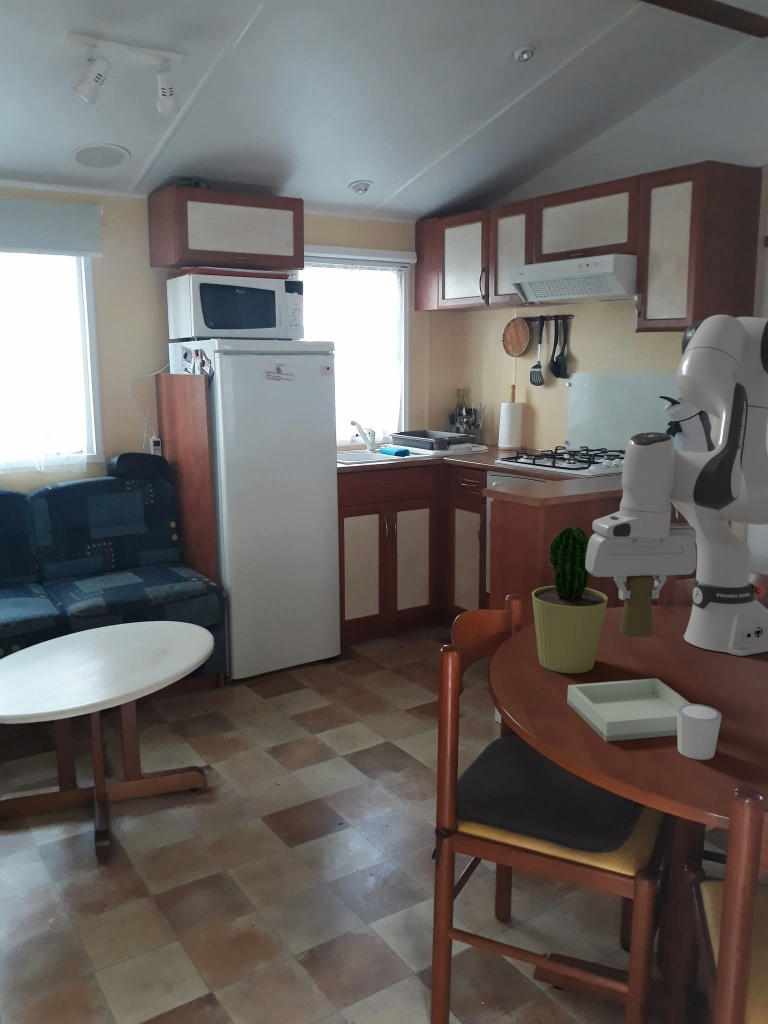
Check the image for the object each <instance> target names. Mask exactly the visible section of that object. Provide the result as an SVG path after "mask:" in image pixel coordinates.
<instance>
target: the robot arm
mask: <svg viewBox="0 0 768 1024" xmlns="http://www.w3.org/2000/svg"><path fill="white" fill-rule="evenodd" d="M681 355H682V357H681V359H680V362H679V364H678V367H677V370H676V375H675V385H676V388H677V391H678V393H679V394H680V396H681V397H682V399H683V400H685V401H686V402H687V403H688V404H689V405H690V406H692V407H694V408H695V409H696V410H700V411H701V412H702V411H703V412H705V413H708V414H710V415H712V421H711V427H710V428H711V429H710V439H711V440H710V441H711V442H712V444H713V445H714V447H715V449H714V450H711V451H707V452H706V451H705V452H702V451H701V452H700V451H692V450H691V451H687V450H680V449H675V446H674V439H673V438H674V437H672V436H671V435H670V434H666V433H663V432H658V431H657V432H655V431H654V432H653V431H652V432H651V431H650V432H640V433H637V434H633V436H631V437H629V439H628V442H627V445H626V449H625V452H624V453H625V454H624V457H623V459H624V460H623V465H622V473H621V487H622V497H621V500H620V503H619V511H615V512H613V513H611V514H608V515H605V516H602V517H599V518H597V519H594V520H593V521H592V528H591V529H592V531H594V533H593V534H592V535H591V536H590V538H589V542H588V547H587V553H586V562H585V567H586V570H587V571H588V572H589V574H590V575H591V576H593V577H595V578H603V577H604V578H606V577H607V578H611V577H613V581H614V582H615V585H616V586H617V588H618V598H619V600H621V601H625V600H629V599H630V595H631V591H630V590H627V589H626V588H625V582H626V577H627V576H652V577H653V579H655V580H654V583H655V585H654V589H653V591H652V592H651V600H655V599H656V600H657V599H659V597H660V590H661V589H662V587H663V586H664V585H665V583H666V582H667V576H676V575H679V576H680V575H692V574H693V573H694V572H695V570H696V573H695V575H696V576H695V577H694V578H693V585H692V607H691V613H690V618H689V621H688V624H687V627H686V630H685V633H684V634H683V638H684V640H685V641H686V643H688V644H690V645H693V646H695V647H698V648H700V649H705V650H709V651H714V652H721V653H727V654H730V655H734V656H740V657H744V656H749V655H755V654H761V653H765V652H768V608H766V607H765V606H764V605H763V604H762V603H761V602H759V601H758V600H757V599H756V596H755V594H757V595H758V596H759V597H760V596H761V597H763V596H764V595H765V594H766V591H767V590H766V588H765V587H763V586H761V585H759V584H756V585H754V584H753V583H752V582H750V577H751V566H752V556H753V553H752V551H751V549H750V546H749V545H748V544H747V542H746V541H745V540H743V539H742V538H740V537H739V536H737V535H736V534H735V533H734V531H733V530H732V529H731V527H730V525H729V524H730V523H729V522H733V523H741V524H747V525H754V526H755V525H756V526H757V525H758V526H759V525H761V526H762V525H768V448H767V436H768V435H767V432H768V318H767V317H757V316H738V317H737V316H736V317H734V316H731V315H728V314H715V315H712V316H709V317H707V318H705V319H701V320H697V321H694V322H692V323H691V324H690V325H689V326H688V327H687V328H686V329H685V330H684V333H683V336H682V340H681ZM672 505H673V507H674V508H675V509H676V510H677V511H678V512H679V513H680V514H681V515H682V516H683V518H685V520H686V522H687V523H686V522H685V523H684V522H683V523H671V515H672Z"/></svg>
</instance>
